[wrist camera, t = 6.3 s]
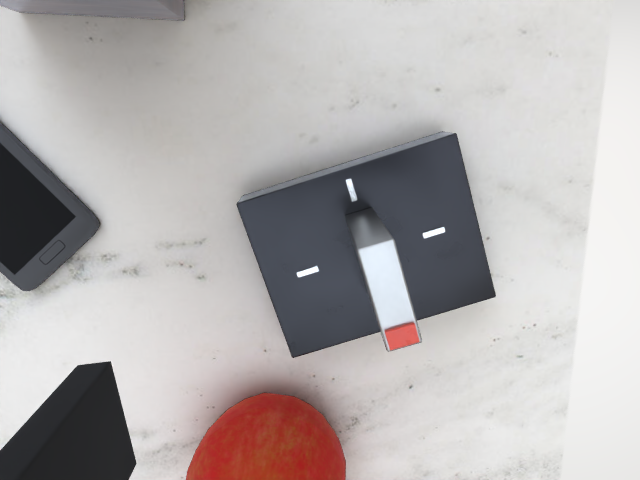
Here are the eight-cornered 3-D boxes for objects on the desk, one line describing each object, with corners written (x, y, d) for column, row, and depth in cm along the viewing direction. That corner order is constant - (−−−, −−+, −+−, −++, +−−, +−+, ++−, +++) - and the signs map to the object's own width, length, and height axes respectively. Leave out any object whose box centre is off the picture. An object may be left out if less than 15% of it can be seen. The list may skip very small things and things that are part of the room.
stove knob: (344, 215, 31) (357, 251, 23) (372, 206, 31) (395, 240, 23) (368, 295, 32) (388, 355, 24) (395, 287, 32) (423, 344, 24)
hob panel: (443, 130, 33) (457, 132, 30) (481, 282, 36) (497, 298, 33) (242, 195, 34) (235, 204, 31) (293, 338, 36) (292, 359, 33)
